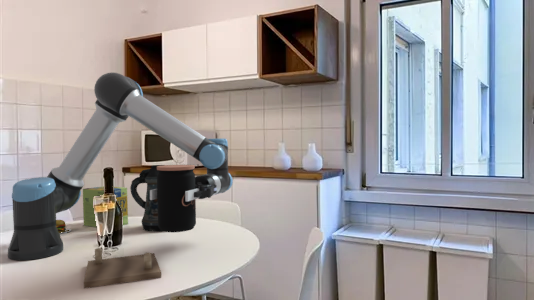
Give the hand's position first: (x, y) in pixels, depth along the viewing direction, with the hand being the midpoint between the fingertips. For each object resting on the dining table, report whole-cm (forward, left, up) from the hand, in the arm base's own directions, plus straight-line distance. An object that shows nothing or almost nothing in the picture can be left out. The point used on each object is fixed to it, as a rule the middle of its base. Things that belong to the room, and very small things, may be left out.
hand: (168, 195), depth 110 cm
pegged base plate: (-12, +1, -20) cm, 23 cm away
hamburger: (-34, +61, -21) cm, 73 cm away
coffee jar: (+3, +3, -10) cm, 11 cm away
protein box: (-17, +67, -20) cm, 72 cm away
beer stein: (+3, +51, -20) cm, 55 cm away
